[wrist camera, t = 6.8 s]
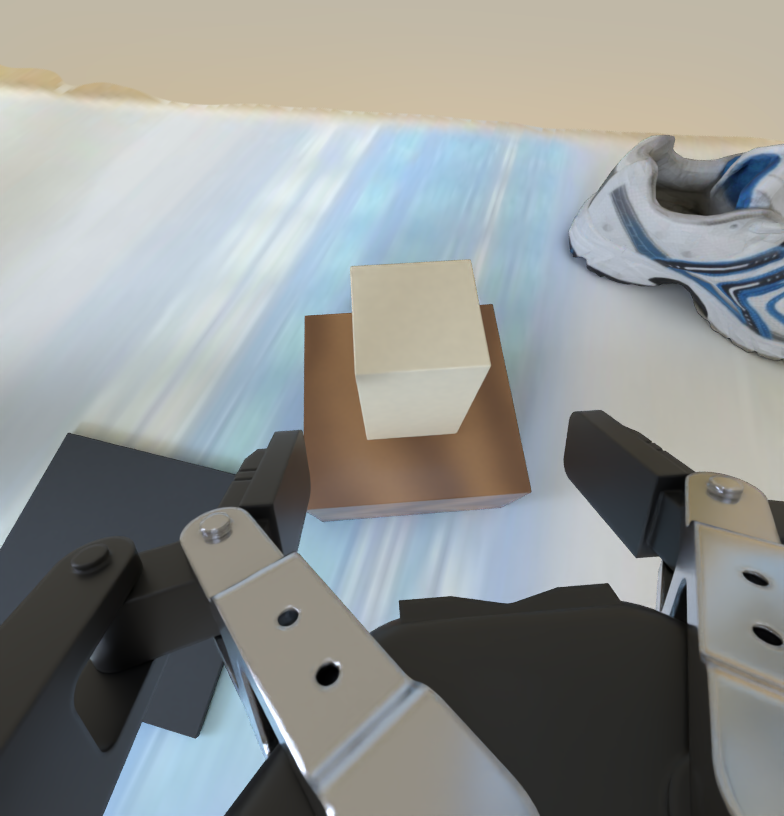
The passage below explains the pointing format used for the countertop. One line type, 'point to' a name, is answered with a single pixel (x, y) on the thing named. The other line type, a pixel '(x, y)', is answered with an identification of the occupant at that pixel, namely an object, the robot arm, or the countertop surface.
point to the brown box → (403, 440)
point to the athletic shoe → (696, 235)
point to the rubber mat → (118, 516)
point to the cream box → (417, 346)
